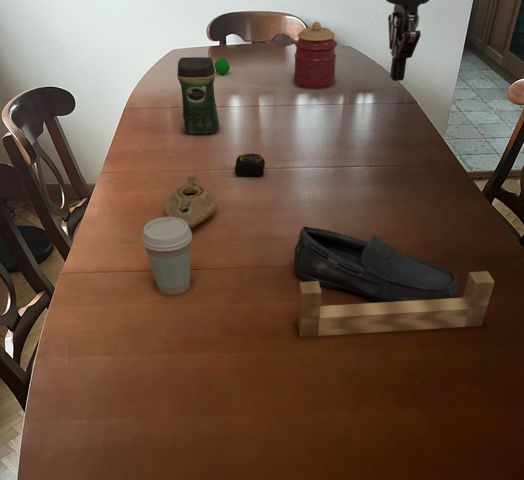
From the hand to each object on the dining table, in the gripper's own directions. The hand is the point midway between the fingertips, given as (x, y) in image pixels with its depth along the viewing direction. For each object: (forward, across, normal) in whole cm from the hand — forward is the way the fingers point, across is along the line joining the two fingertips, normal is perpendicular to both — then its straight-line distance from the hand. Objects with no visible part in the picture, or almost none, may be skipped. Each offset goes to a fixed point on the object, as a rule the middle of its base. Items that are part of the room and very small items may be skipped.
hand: (396, 79), depth 108 cm
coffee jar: (+27, -49, -38) cm, 68 cm away
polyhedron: (+27, -97, -31) cm, 105 cm away
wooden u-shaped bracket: (+27, +38, -7) cm, 47 cm away
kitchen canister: (+27, -84, -2) cm, 88 cm away
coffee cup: (+27, +23, -43) cm, 56 cm away
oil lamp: (+27, 0, -40) cm, 48 cm away
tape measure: (+27, -21, -26) cm, 43 cm away
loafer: (+27, +28, -8) cm, 39 cm away
